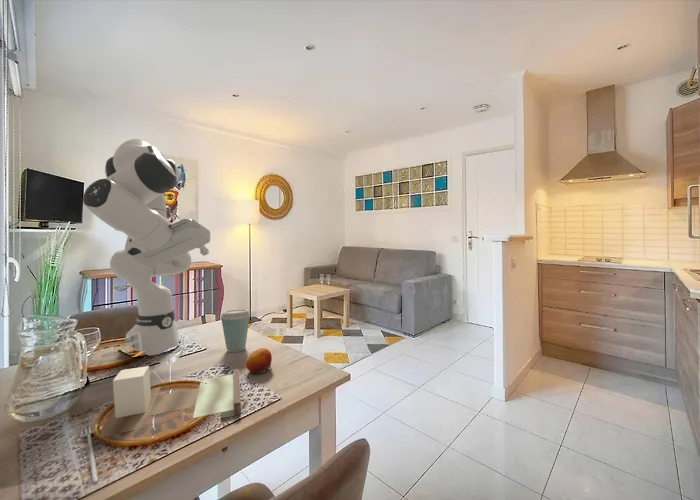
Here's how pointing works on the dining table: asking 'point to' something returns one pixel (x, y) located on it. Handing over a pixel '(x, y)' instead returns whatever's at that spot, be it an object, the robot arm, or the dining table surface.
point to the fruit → (259, 361)
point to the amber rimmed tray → (186, 403)
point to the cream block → (132, 391)
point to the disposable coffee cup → (235, 329)
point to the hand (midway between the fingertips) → (192, 259)
